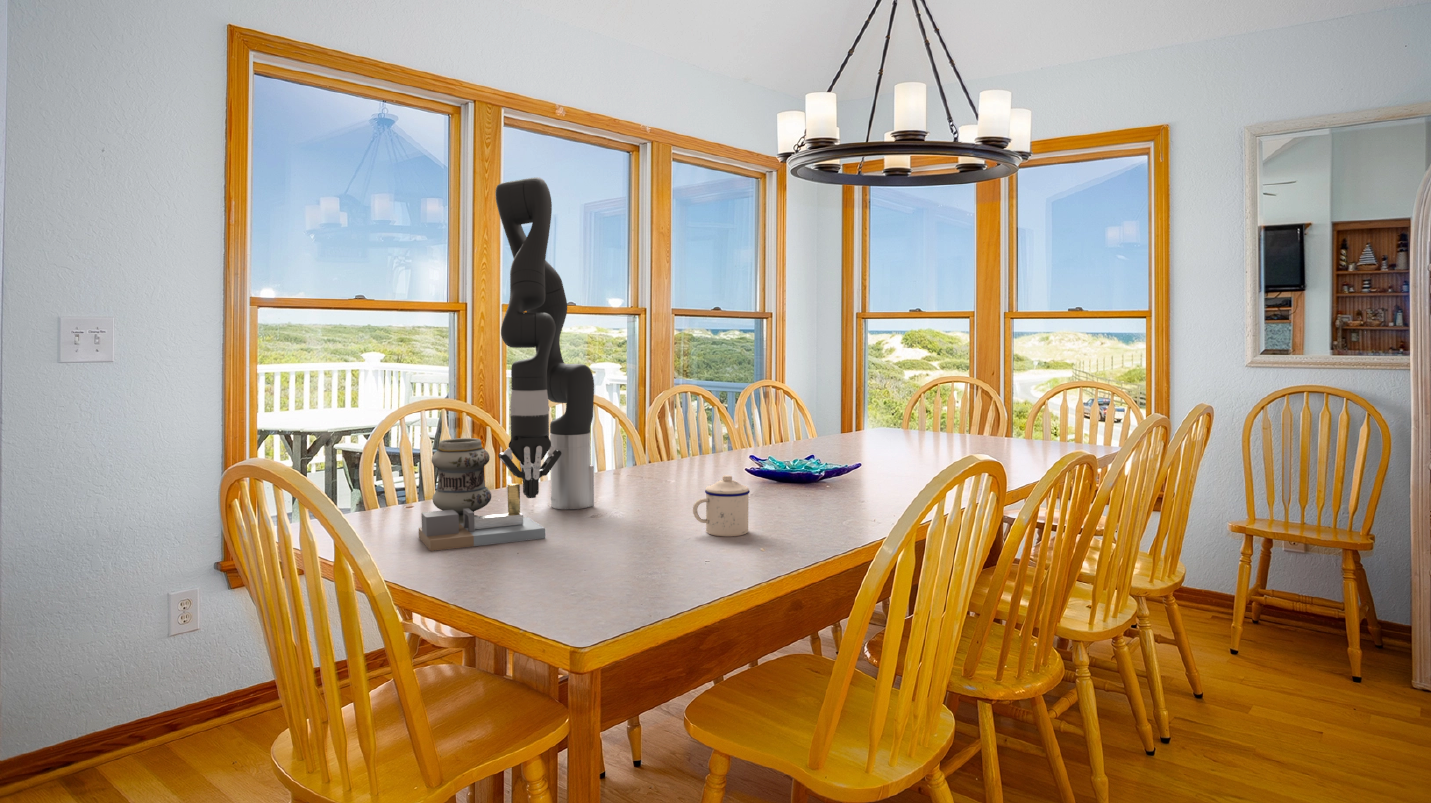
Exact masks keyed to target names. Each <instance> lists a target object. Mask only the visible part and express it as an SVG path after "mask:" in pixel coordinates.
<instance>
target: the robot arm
mask: <svg viewBox="0 0 1431 803" xmlns="http://www.w3.org/2000/svg"><path fill="white" fill-rule="evenodd" d="M495 202H496V208H497V210H498V214H499V218H500V220H501V221H500V222H501V224H502V226H503V229H504V233H505V236H506V239H507V242H508V245H509V247H510V251H511V254H512V257H513V260H512V263H511V266H510V272H509V274H510V275H509V278H510V279H509V280H510V281H509V284H510V285H509V288H510V289H509V300H508V301H509V302H508V306H507V309H506V312H505V315H504V318H503V319H502V323H501V328H500V335H501V336H500V337H501V340H502V341H503V343H504V344H505V345H506V346H507V347H508V348H513V349H517V348H518V349H522V348H523V349H524V348H525V349H527V348H528V349H530V348H531V349H535V354H534V355H533V356H532V357H529V358H528V357H527V358H525V359H518V360H515V361H514V362H512V364H511V369H510V374H511V375H510V376H511V378H510V379H511V380H510V381H511V385H510V386H511V388H510V389H511V394H510V401H509V402H510V409H509V411H510V440H509V443H508V447H507V448H506V449H505V450H504V451H502V452H499V454H498V458H499V459H500V461H501V462H502V463H503V464H504V465H505V467H506V468H507V469H508V470H509V471H510V473H511V474H512V475H513V476H514V477H516V478H518V479H522V492H523V495H524V496H525V497H526V498H527V499H536V497H537V495H539V493H540V487H539V486H540V485H539V483H540V482H539V481H540V479H541V478H542V477H545V476H547V475H549V472H550V505H551V506H550V508H553V509H557V510H558V509H559V510H579V509H580V510H581V509H586V508H589V507H595V478H594V477H595V471H594V470H595V468H594V465H593V464H592V463H591V462H592V459H591V452H592V451H591V425H592V422H593V418H594V404H595V403H594V402H595V401H594V400H595V380H594V376H593V375H594V374H593V372H592V370H591V368H590V367H589V366H587V365H586V364H582V363H566V362H564V359H563V356H562V352H561V347H560V340H561V339H560V337H561V334H562V331H563V329H564V328H563V327H564V324H565V321H566V319H567V314H568V301H567V297H566V292H565V288H564V283H563V281H562V278H561V276H560V274H559V273H558V272H557V271H556V269H555V268H554V267H553V266H552V265H551V263H549V262H548V261H547V260H546V257H547V251H548V249H547V248H548V243H549V236H550V229H551V223H552V222H551V221H552V210H553V207H552V206H553V203H552V196H551V192H550V189H549V186H548V184H547V182H546V181H545V180H544V179H543V178H541V177H529V178H528V177H527V178H523V179H518V180H517V179H516V180H511V181H505V182H501V183H499V184H497V185H496V187H495ZM526 224H531V227H530V230H529V232H528V234H527V235H526V233H525V230H524V229H523V226H522V225H526ZM549 401H550V402H553V403H557V404H566V405H565V406H566V407H565V412H564V413H563V414H562V415H561V416H559V417H557V418H554V419H553V420H551V421H550V418H549V417H550V415H549V414H550V413H549V412H550V405H549V404H550V402H549ZM546 454H547V458H546V459H545V460H544V462H543V464H541V463H542V461H543V459H544V458H545V456H546ZM513 456H514V457H515V458H516V459H517V461H519V466H520V469H519V468H518V466H517V465H516V464H515V463H514V461H513V459H514V457H513Z"/></svg>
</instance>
